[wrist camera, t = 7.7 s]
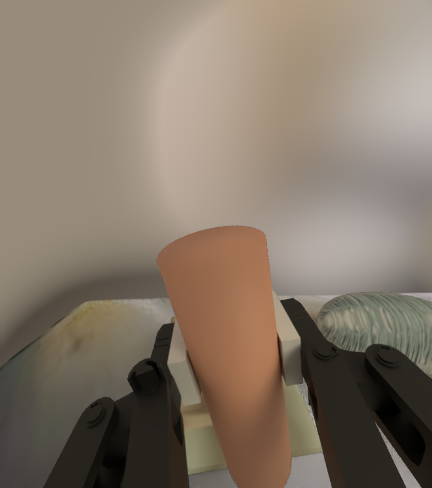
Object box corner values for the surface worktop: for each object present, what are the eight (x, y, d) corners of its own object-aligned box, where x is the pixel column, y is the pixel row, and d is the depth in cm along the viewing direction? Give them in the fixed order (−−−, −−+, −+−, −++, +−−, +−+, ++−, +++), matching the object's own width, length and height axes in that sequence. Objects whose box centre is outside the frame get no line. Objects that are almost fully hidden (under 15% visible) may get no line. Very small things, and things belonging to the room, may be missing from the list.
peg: (278, 407, 15) (252, 219, 9) (303, 491, 11) (283, 256, 6) (222, 418, 15) (167, 237, 9) (229, 505, 11) (143, 285, 6)
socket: (267, 316, 36) (263, 287, 33) (322, 451, 19) (322, 412, 17) (166, 335, 36) (156, 308, 34) (133, 484, 19) (108, 449, 17)
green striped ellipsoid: (428, 303, 27) (439, 265, 21) (475, 390, 22) (510, 372, 15) (318, 313, 34) (302, 285, 28) (331, 381, 28) (315, 366, 22)
